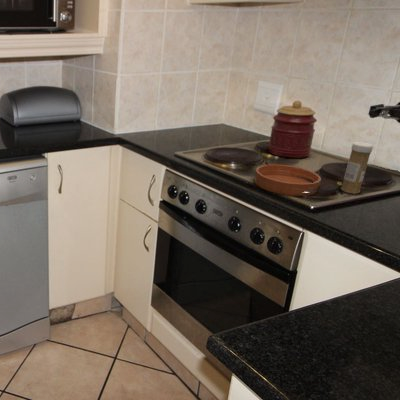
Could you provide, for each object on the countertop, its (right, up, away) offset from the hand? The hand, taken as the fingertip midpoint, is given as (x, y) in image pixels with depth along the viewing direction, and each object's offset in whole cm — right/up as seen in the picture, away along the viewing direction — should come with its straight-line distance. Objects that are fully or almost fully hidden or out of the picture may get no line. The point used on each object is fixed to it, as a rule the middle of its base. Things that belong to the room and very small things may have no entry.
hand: (389, 117), depth 128 cm
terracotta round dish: (-25, -18, +5) cm, 32 cm away
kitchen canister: (-10, -7, +34) cm, 36 cm away
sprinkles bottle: (-10, -20, +2) cm, 22 cm away
